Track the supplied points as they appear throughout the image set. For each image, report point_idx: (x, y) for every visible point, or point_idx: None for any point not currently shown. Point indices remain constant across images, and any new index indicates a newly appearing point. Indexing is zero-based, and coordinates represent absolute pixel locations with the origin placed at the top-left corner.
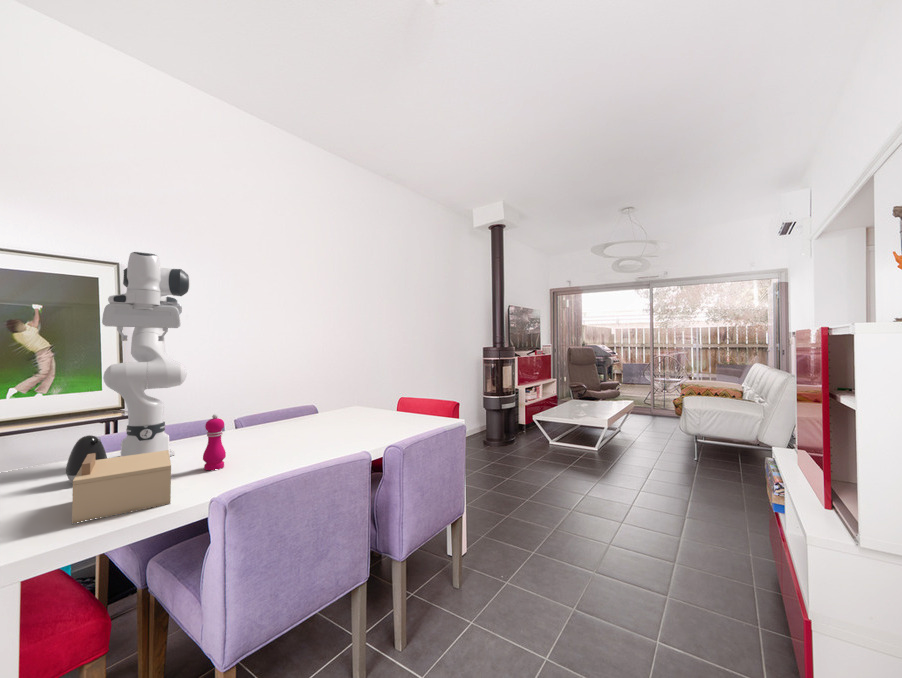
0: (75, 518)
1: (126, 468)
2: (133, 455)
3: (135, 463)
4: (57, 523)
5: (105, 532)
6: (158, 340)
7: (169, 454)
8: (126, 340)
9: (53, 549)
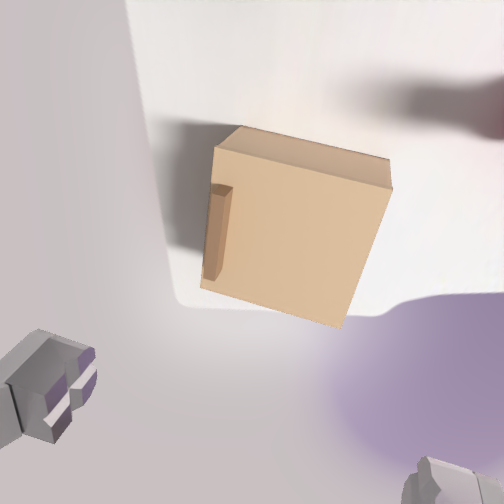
0: None
1: (275, 283)
2: (309, 178)
3: (295, 259)
4: None
5: (256, 309)
6: (405, 494)
7: None
8: (89, 383)
9: (209, 308)
